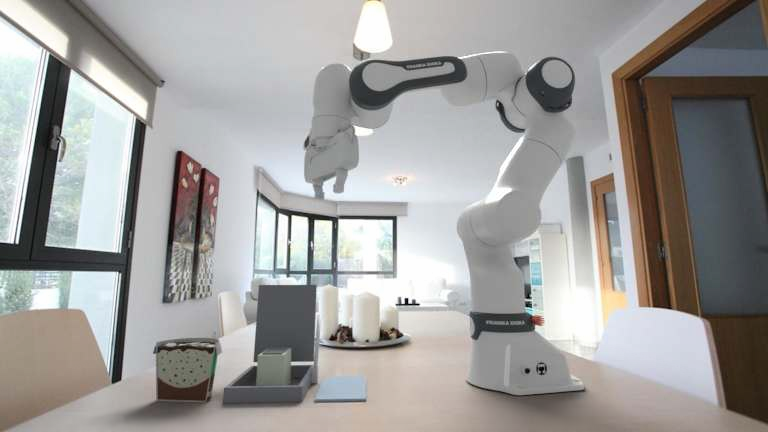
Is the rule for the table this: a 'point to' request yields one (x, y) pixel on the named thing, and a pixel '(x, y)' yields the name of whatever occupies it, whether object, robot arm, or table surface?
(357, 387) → the mat
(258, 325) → the lid
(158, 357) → the food container
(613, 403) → the table surface
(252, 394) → the case
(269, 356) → the module
